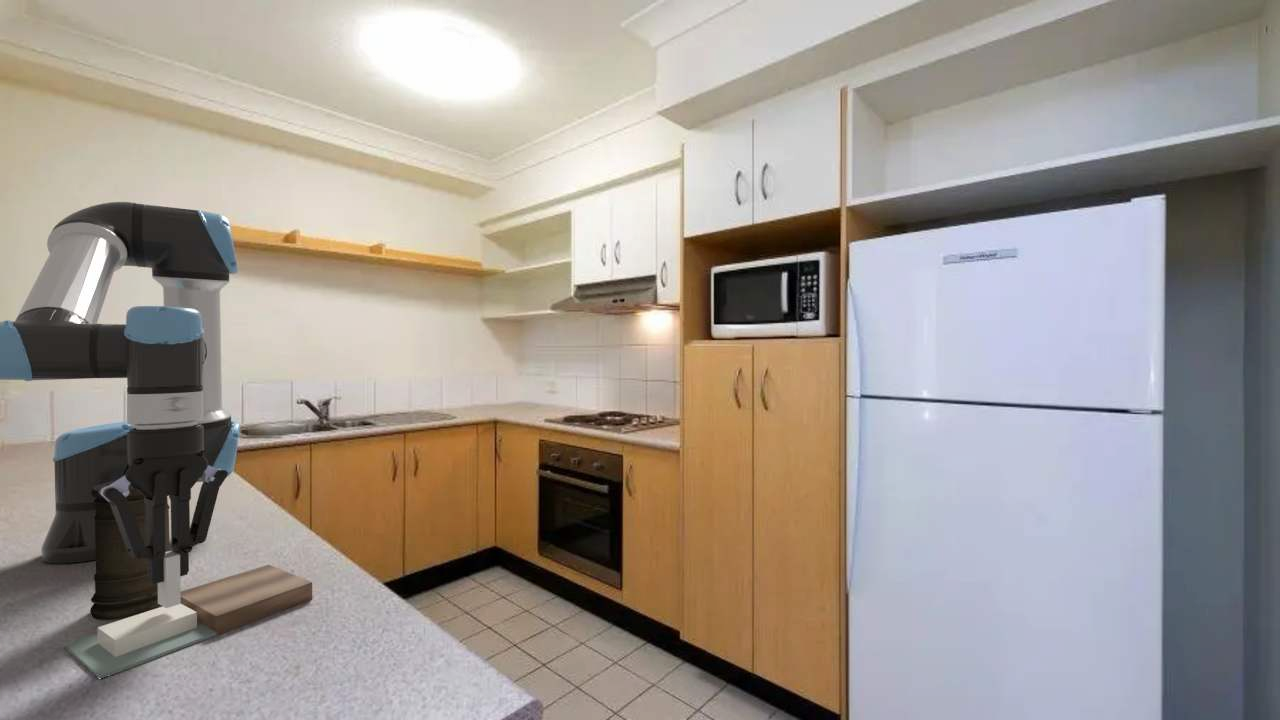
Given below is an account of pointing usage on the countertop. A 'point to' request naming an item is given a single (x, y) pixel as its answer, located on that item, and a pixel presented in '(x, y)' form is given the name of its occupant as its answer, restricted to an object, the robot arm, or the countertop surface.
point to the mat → (108, 664)
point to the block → (146, 628)
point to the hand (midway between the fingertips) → (169, 603)
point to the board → (245, 597)
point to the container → (121, 563)
